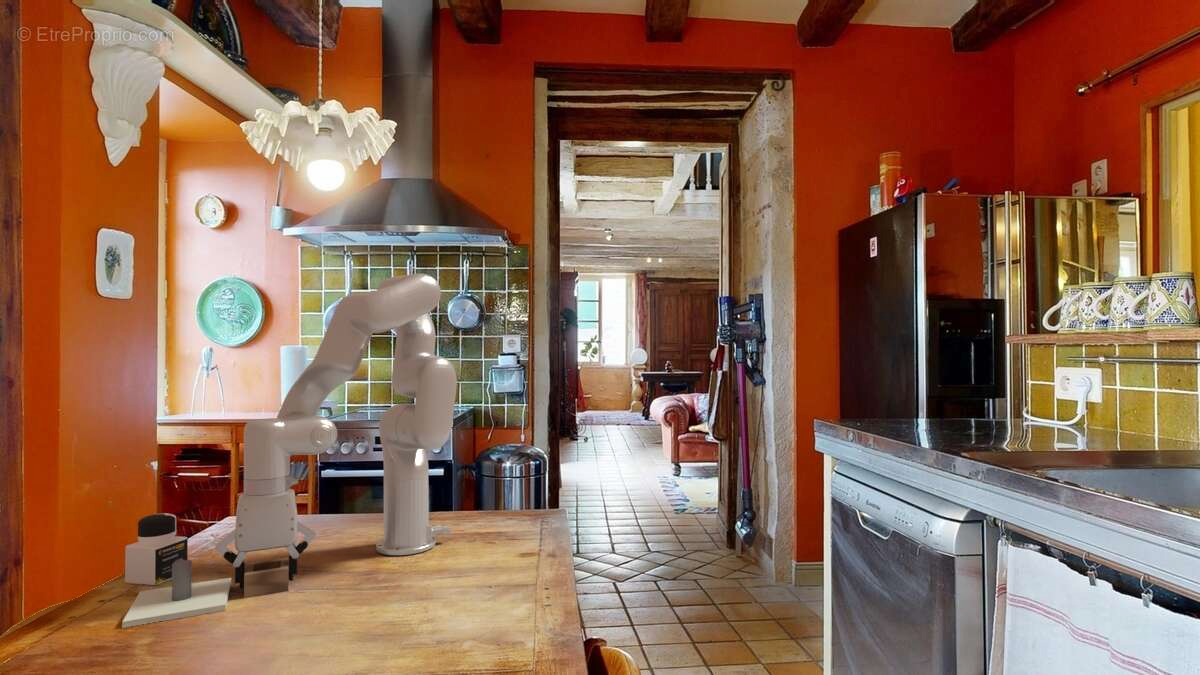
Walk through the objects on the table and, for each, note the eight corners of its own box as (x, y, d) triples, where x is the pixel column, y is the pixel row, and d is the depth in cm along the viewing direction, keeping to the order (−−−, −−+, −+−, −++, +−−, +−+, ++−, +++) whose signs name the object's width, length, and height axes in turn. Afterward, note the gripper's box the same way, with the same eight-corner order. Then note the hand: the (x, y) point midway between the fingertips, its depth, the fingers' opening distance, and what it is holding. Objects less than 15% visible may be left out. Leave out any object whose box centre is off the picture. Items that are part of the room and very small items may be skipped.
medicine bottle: (155, 586, 115) (156, 521, 115) (124, 583, 117) (124, 519, 117) (188, 572, 122) (188, 511, 122) (158, 570, 124) (158, 510, 124)
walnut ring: (288, 578, 119) (288, 557, 119) (288, 590, 112) (288, 568, 112) (246, 584, 115) (246, 563, 115) (244, 598, 109) (244, 575, 109)
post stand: (231, 582, 116) (231, 545, 117) (225, 610, 104) (225, 568, 104) (140, 597, 110) (140, 557, 110) (122, 628, 98) (122, 583, 98)
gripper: (317, 477, 122) (317, 568, 121) (213, 487, 114) (213, 584, 113) (319, 484, 115) (319, 580, 114) (209, 495, 107) (209, 598, 107)
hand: (266, 581), depth 114 cm, fingers open, 7 cm apart
